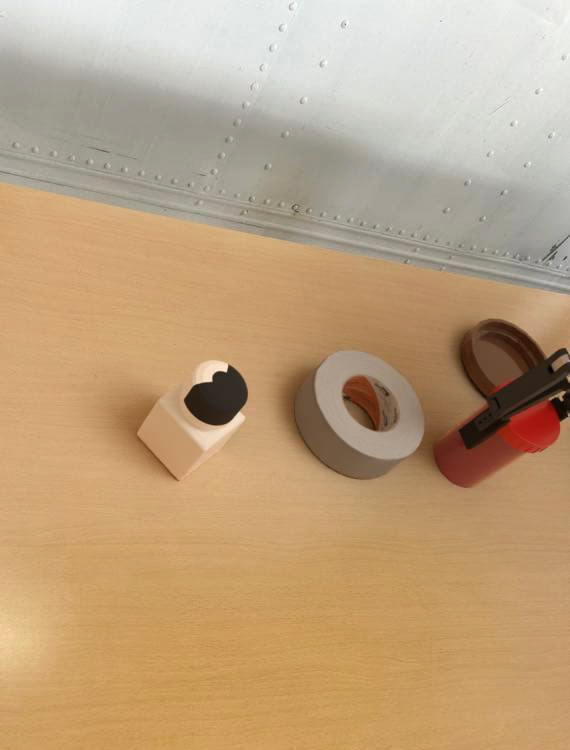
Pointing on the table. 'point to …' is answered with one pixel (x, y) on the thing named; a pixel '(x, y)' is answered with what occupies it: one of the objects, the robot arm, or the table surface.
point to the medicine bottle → (196, 417)
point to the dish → (498, 353)
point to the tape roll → (341, 431)
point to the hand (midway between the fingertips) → (493, 436)
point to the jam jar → (473, 455)
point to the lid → (531, 426)
